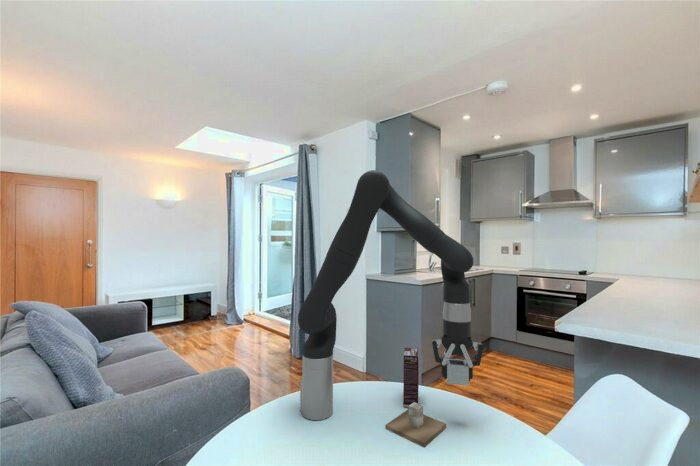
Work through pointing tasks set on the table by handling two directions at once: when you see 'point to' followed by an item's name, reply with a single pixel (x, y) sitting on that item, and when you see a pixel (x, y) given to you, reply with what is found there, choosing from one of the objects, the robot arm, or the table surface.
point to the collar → (457, 372)
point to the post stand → (416, 425)
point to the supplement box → (410, 376)
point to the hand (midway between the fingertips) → (456, 378)
